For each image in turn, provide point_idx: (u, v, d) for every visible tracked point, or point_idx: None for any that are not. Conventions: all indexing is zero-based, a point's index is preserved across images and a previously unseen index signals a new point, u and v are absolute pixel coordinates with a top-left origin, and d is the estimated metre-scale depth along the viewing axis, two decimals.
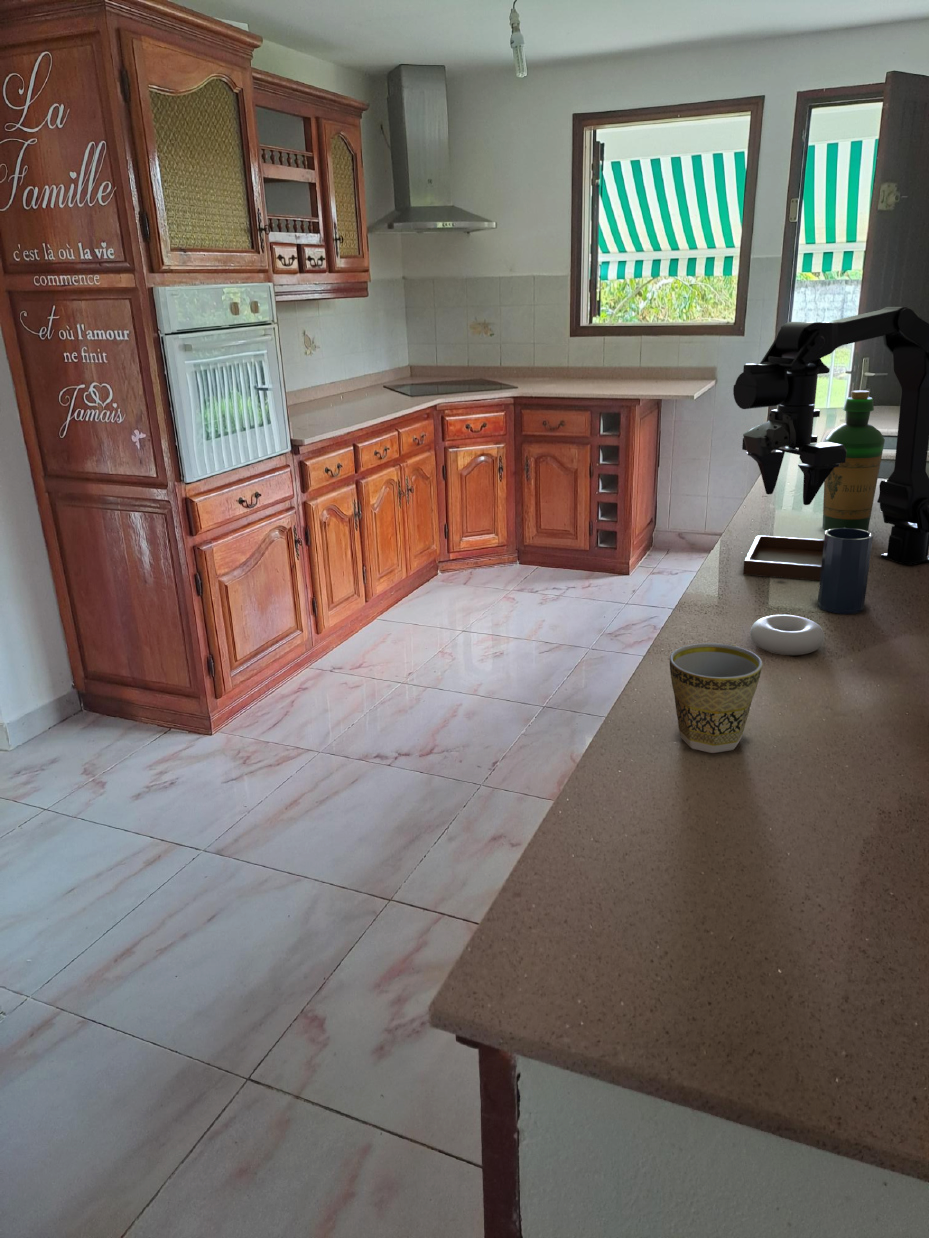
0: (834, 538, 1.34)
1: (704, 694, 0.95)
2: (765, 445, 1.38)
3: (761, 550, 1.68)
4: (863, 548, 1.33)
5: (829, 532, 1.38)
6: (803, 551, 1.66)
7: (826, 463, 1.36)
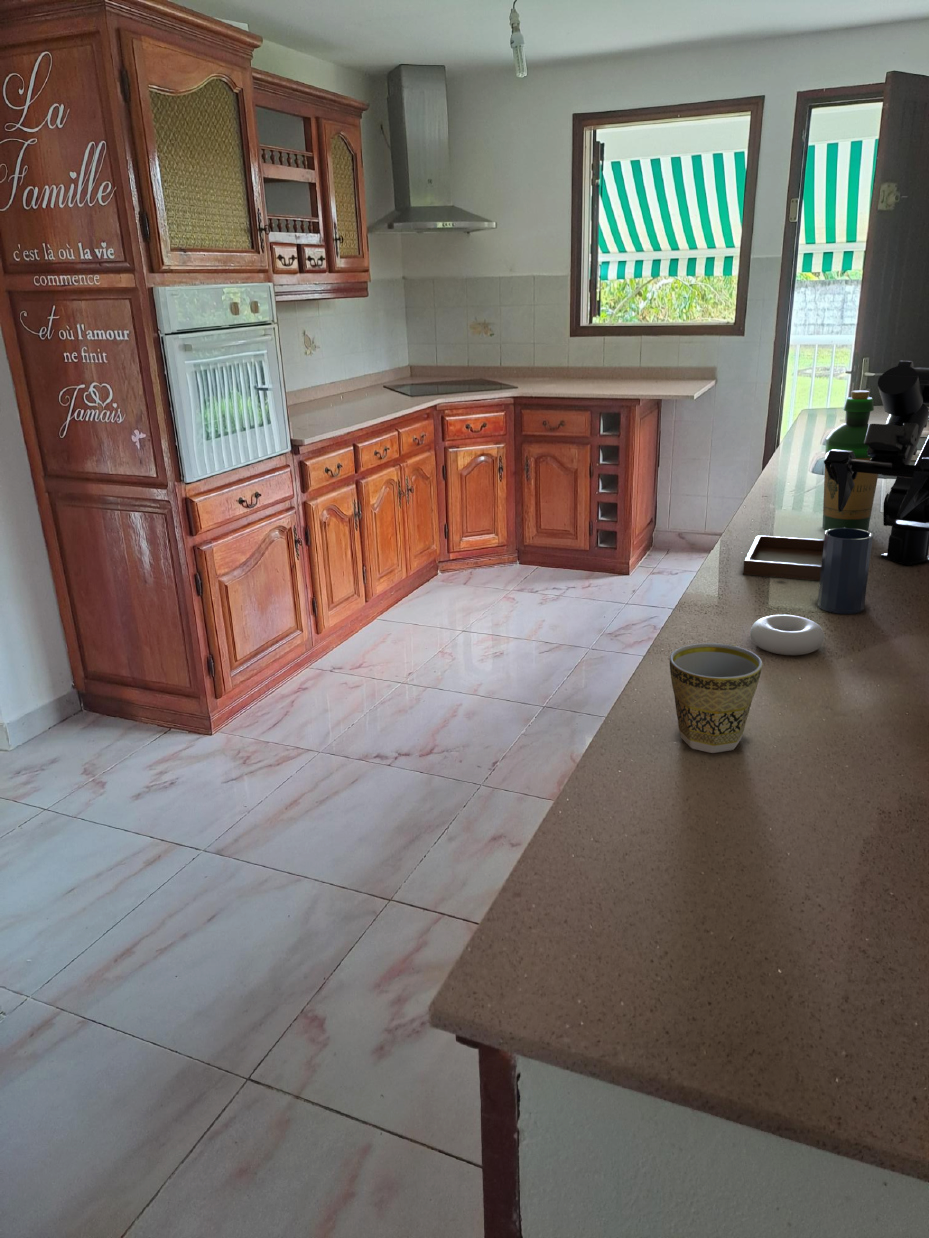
0: (834, 538, 1.34)
1: (704, 694, 0.95)
2: (903, 432, 1.35)
3: (761, 550, 1.68)
4: (863, 548, 1.33)
5: (829, 532, 1.38)
6: (803, 551, 1.66)
7: None
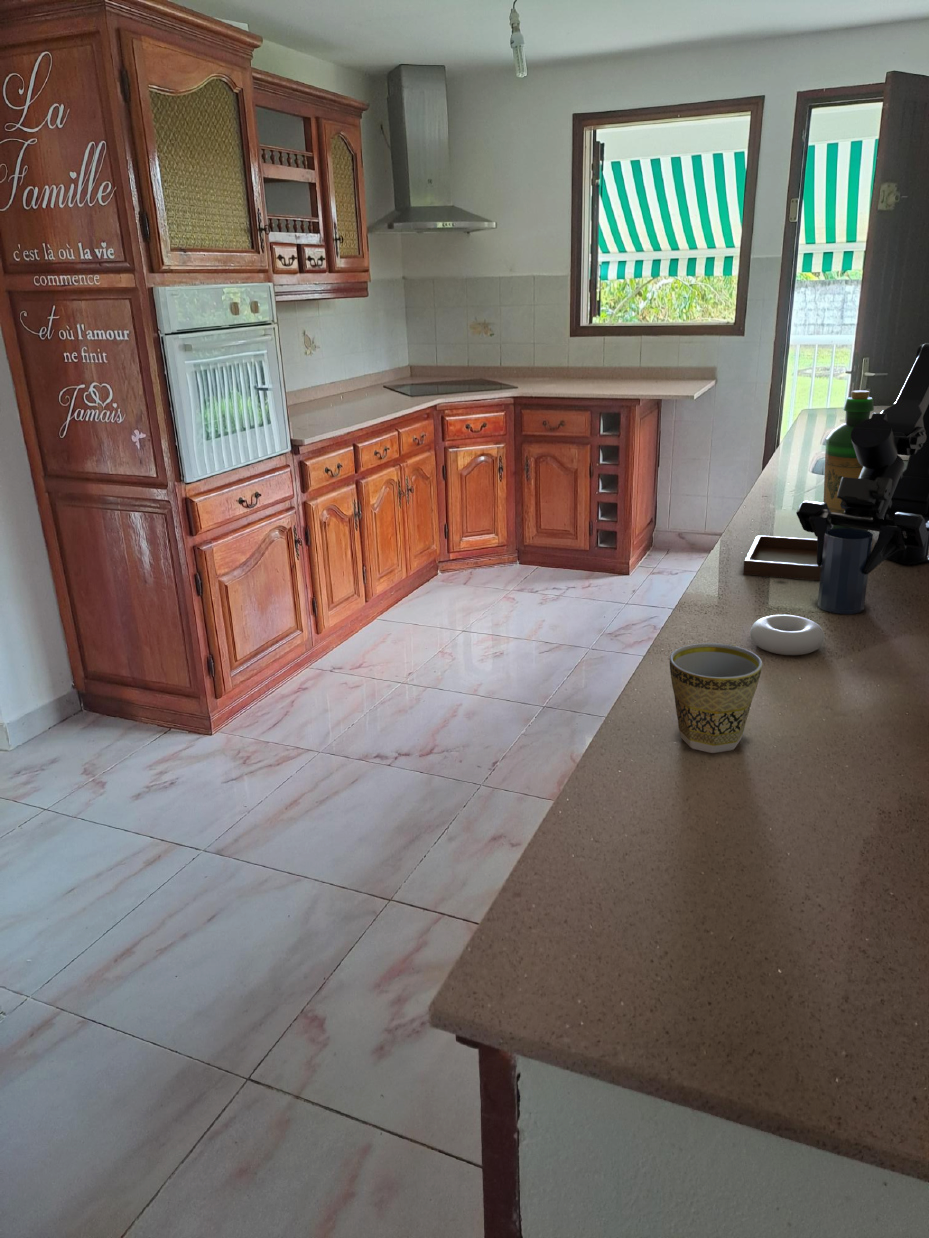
0: (834, 538, 1.34)
1: (704, 694, 0.95)
2: (876, 487, 1.31)
3: (761, 550, 1.68)
4: (863, 548, 1.33)
5: (829, 532, 1.38)
6: (803, 551, 1.66)
7: (920, 532, 1.31)
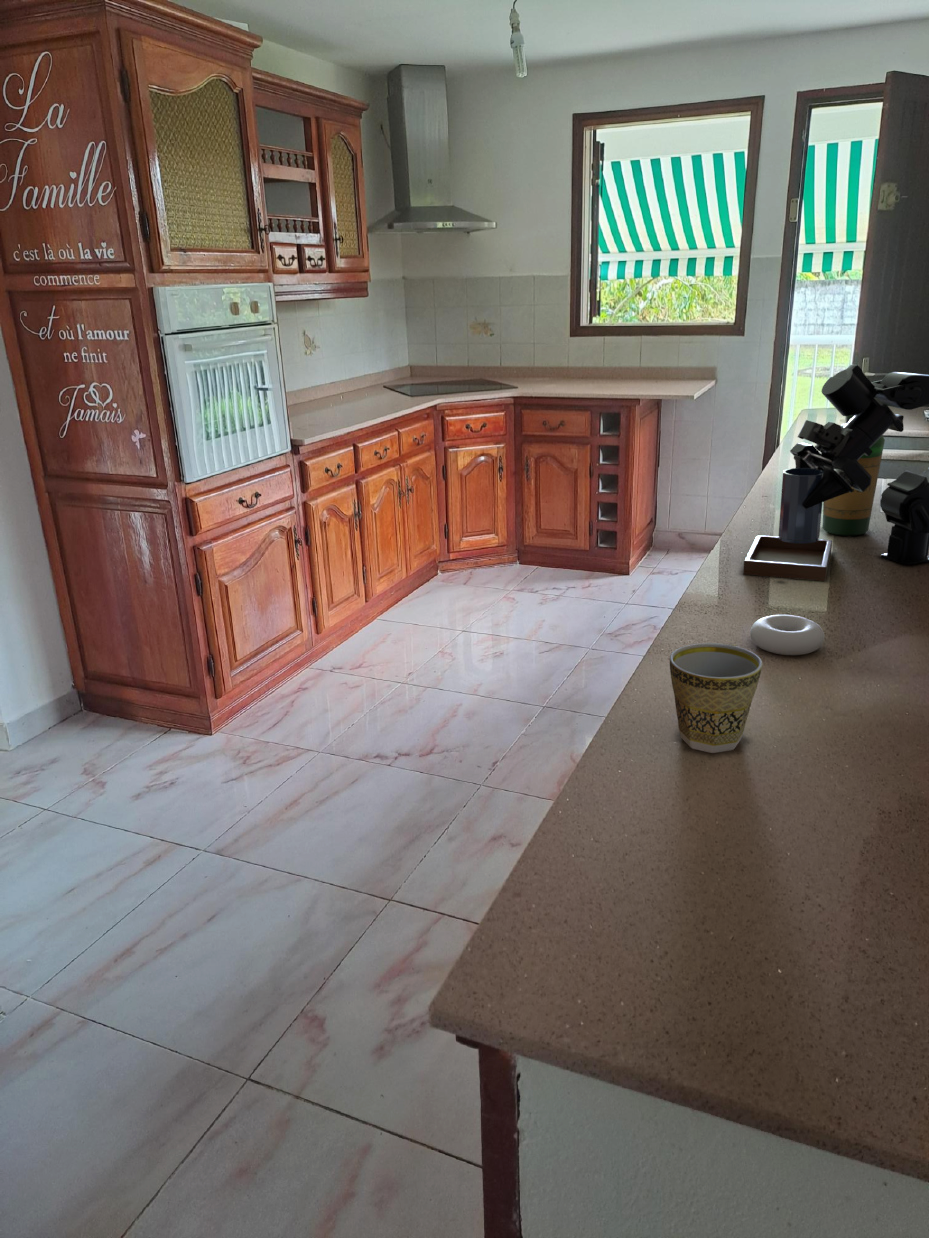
0: (783, 473, 1.53)
1: (704, 694, 0.95)
2: (817, 430, 1.47)
3: (761, 550, 1.68)
4: (802, 484, 1.50)
5: (796, 470, 1.55)
6: (803, 551, 1.66)
7: (850, 475, 1.44)
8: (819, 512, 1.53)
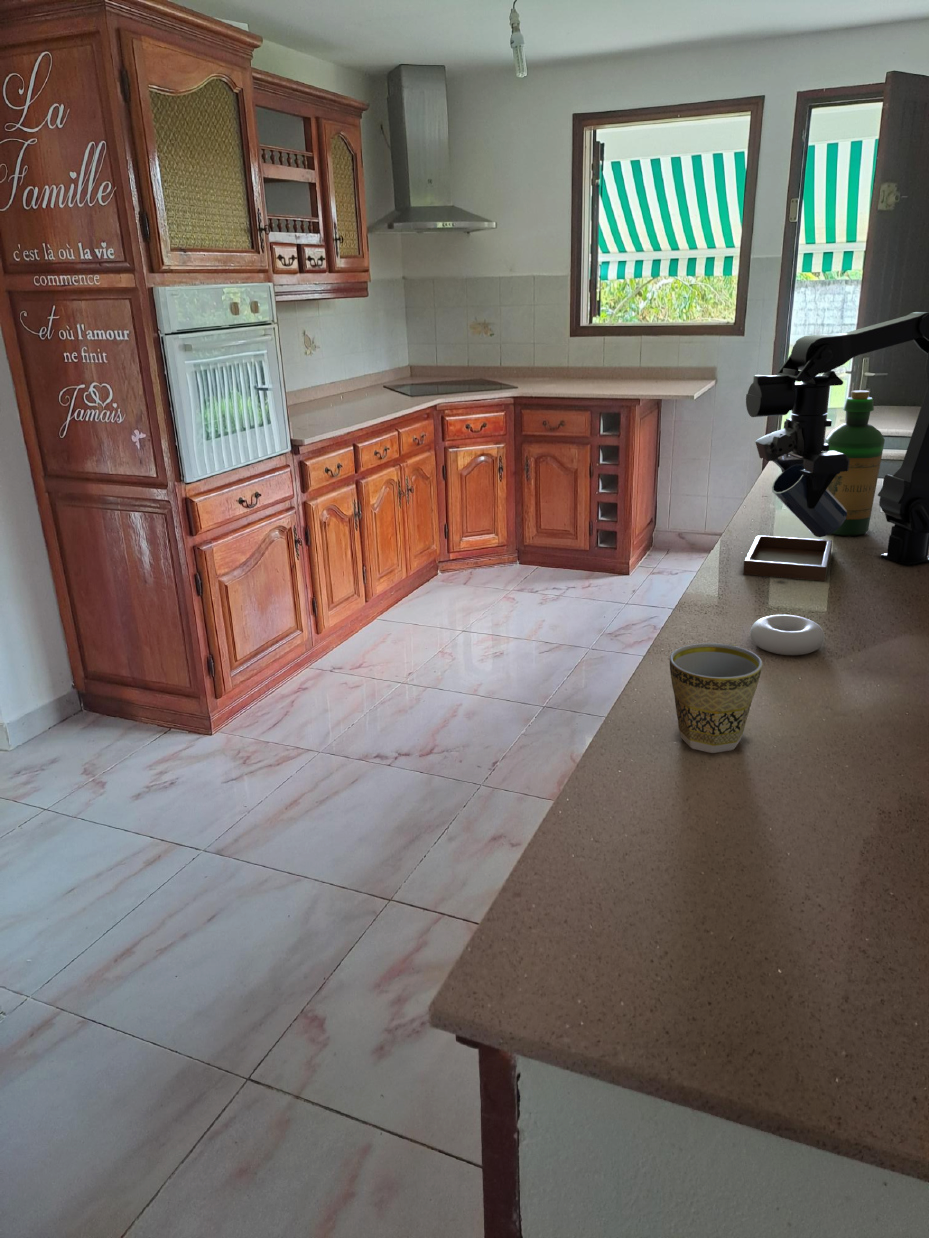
0: None
1: (704, 694, 0.95)
2: (770, 451, 1.47)
3: (761, 550, 1.68)
4: (794, 494, 1.51)
5: (782, 475, 1.55)
6: (803, 551, 1.66)
7: (825, 471, 1.43)
8: (828, 498, 1.52)
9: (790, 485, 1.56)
